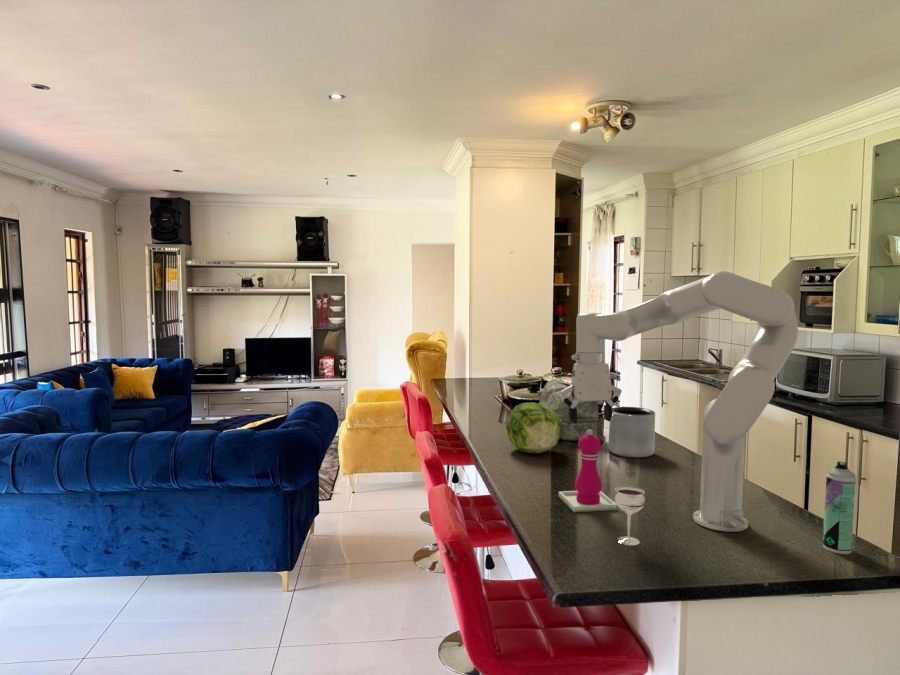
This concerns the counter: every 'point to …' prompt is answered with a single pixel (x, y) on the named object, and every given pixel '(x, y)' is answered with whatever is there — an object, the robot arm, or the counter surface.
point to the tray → (575, 506)
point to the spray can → (839, 509)
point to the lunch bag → (585, 411)
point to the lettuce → (533, 428)
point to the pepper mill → (588, 470)
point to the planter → (632, 432)
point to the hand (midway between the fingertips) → (590, 421)
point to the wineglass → (629, 507)
